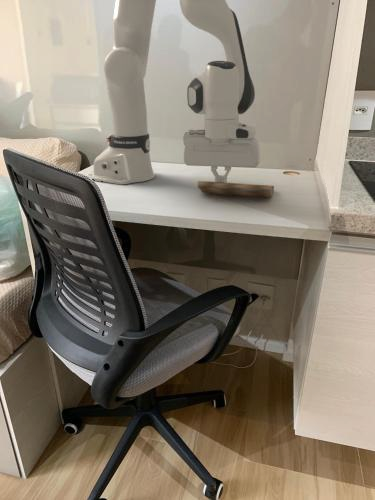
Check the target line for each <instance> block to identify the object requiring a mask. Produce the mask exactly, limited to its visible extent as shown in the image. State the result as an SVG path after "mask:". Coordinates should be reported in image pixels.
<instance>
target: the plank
mask: <svg viewBox="0 0 375 500" xmlns="http://www.w3.org/2000/svg"><path fill="white" fill-rule="evenodd" d="M235 183H236V182H235ZM235 183H234V182H233V183H232V182H226V183H215V181H201V180H198V181H197V186H196V187H197V188H198V189H199V190H200V192H201V193H205V194H217V195H218V194H220V195H229V196H230V195H232V196H233V195H234V196H243V197H244V196H246V197H255V198H257V197H260V198H269V199H270V198H273V195H272V186H273V185H267V186H264V184H252V185H249V184H250V183H249V184H248V183H238V184H235Z"/></svg>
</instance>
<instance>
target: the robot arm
mask: <svg viewBox="0 0 375 500" xmlns="http://www.w3.org/2000/svg"><path fill="white" fill-rule="evenodd" d="M156 3H157V0H115V4H114V5H115V6H114V11H113V20H112V22H113V27H112V29H113V31H112V32H113V33H112V35H113V37H112V50H110V51H109V52H108V53H107V55H106V57H105V60H104V63H103V69H104V70H103V71H104V76H105V84H106V88H107V89H106V90H107V95H108V101H109V105H110V110H111V123H112V134H111V135H110V136H108V137H107V138H106V143H107V142H108V143H109V144H108V147H106V148H105V149H104V150H103V151H102V152H101V153H99V155H97V156H96V158H94V161H93V171H91V172H89V173H87V176H88V177H90V178H92V179H94V180H95V182H101V181H103V182H104V183H107V184H108V183H111V184H117V185H127V184H132V183H133V184H134V183H140V182H146V181H151V180H152V179H154V178H155V177H156V175H155V173H154V169H153V165H152V162H151V156H150V151H151V141H150V134H149V131H148V112H147V111H148V110H147V109H148V108H147V103H146V94H145V83H144V78H145V77H146V72H147V66H148V58H149V52H150V45H151V44H150V42H151V36H152V29H153V28H152V27H153V22H154V16H155V10H156ZM179 6H180V10H181V14H183V16H184V18H185V20H187V22H188V23H189V24H191V26H194V27H196V28H197V29H199V30H202V31H204V32H205V33H208V34H210V35H212V36H214V37H215V38H216V39H218V40H219V41H220V43H221V44H222V47H223V49H224V54H225V58H226V61H224V60H213V61H210V62H208V63H206V65H205V68H204V72H203V73H202V74H201V75H199V76H198V77H195V78H193V79H192V80H191V81H190V83H189V84H188V86H187V88H186V89H187V90H186V91H187V94H186V95H187V105H188V107H189V109H190V110H191V111H192V112H193V113H194V114H198V115H204V121H203V122H204V123H203V124H204V129H195V130H194V129H190V130H188V131H186V132H184V134H183V138H182V139H183V145H184V152H183V162H184V164H185V165H186V166H187V167H189V166H192V167H210V171H211V173H212V174H213V176H214V182H215V183H228V176H229V173H230V172H231V170H232V168H252V169H253V168H254V169H255V168H257V167H258V166H259V165H260V162H261V161H260V159H261V155H260V153H261V152H260V151H261V150H260V144H259V141H258V139H257V137H255V136H256V134H257V129H256V127H254V126H251V125H248V124H245V123H242V122H240V115H243V114H245V113H246V112H247V111H248V110H249V109H250V108H251V106H252V105H253V103H254V102H255V96H256V95H255V94H256V93H255V87H254V86H255V85H254V83H253V80H252V77H251V75H250V71H249V67H248V63H247V56H246V52H245V47H244V43H243V38H242V33H241V28H240V24H239V20H238V18H237V17H238V16H237V15H236V13H235V11H233V10H232V9H231V7H229V5H228V2H227V1H226V0H179ZM218 167H222V168H224V171H225V174H223V175H222V174H220V175H219V172H218V171H217V169H218ZM94 180H93V181H94Z"/></svg>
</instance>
